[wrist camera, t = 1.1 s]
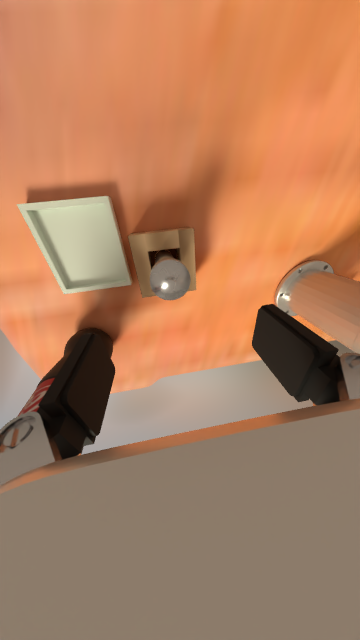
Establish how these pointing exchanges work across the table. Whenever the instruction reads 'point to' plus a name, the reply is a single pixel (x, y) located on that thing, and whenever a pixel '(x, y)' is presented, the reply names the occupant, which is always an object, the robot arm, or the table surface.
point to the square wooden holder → (161, 241)
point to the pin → (169, 276)
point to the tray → (80, 242)
